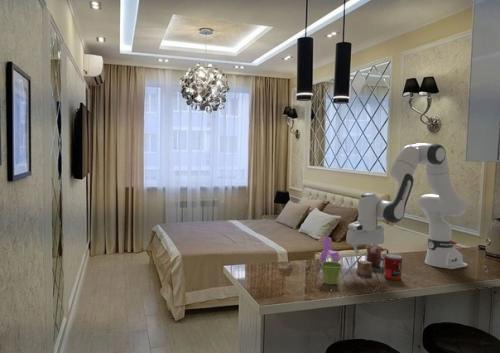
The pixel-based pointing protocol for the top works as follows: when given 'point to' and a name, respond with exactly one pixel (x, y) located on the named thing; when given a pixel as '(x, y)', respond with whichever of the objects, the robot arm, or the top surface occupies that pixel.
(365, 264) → the walnut block
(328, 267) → the plant pot
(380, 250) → the mug
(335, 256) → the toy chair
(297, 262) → the top surface
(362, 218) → the robot arm
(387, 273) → the canned food
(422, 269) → the top surface
